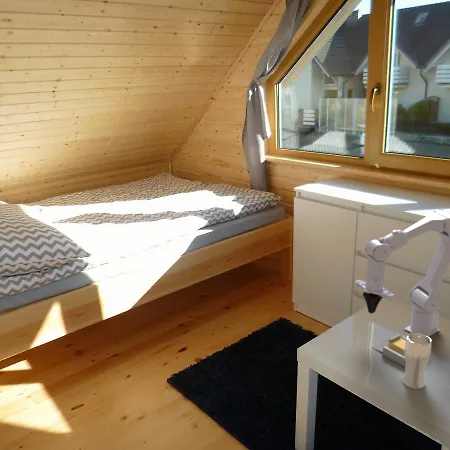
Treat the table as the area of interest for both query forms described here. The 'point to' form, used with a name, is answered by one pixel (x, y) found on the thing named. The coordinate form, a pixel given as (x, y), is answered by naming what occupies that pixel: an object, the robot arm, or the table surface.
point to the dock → (390, 352)
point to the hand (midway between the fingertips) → (371, 312)
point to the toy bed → (397, 344)
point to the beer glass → (416, 359)
